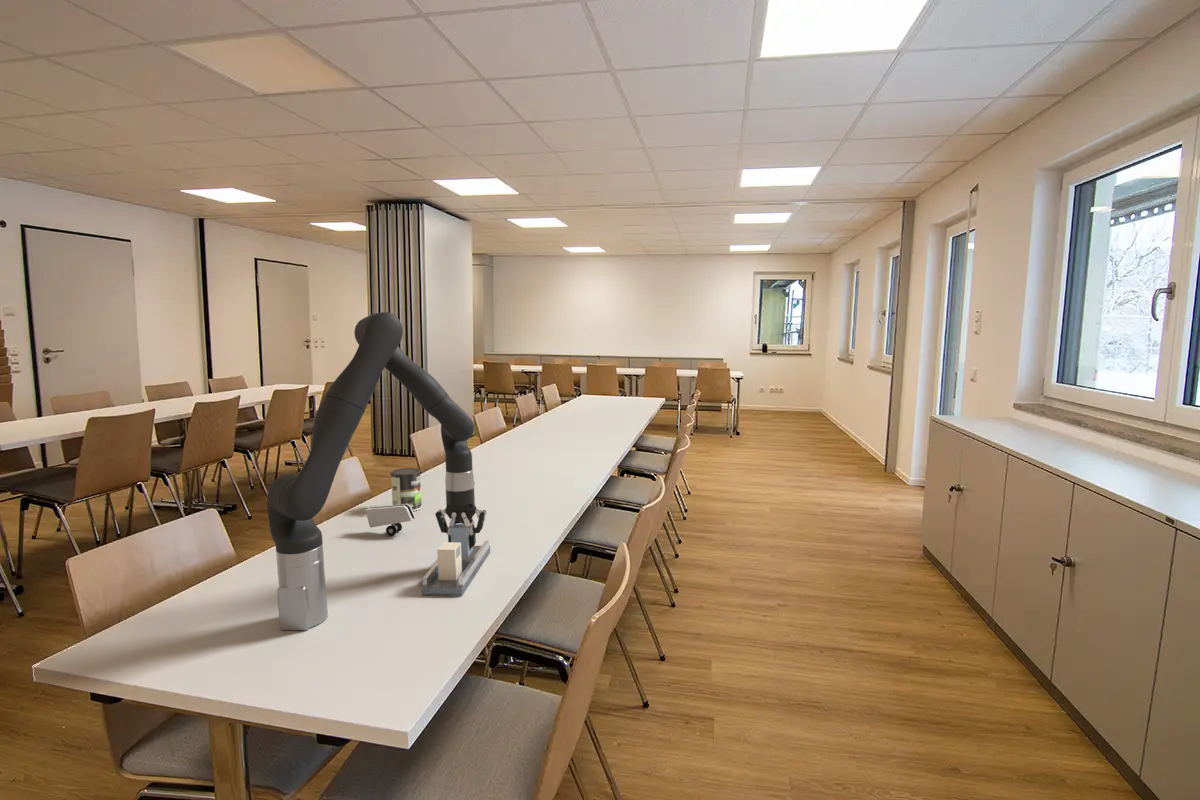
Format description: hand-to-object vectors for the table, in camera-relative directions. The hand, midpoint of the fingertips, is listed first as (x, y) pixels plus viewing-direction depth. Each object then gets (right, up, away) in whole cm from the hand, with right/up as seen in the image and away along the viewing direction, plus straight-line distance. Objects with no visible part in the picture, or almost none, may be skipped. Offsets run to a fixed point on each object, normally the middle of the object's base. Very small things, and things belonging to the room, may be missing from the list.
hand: (462, 546), depth 159 cm
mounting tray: (0, -6, -3) cm, 7 cm away
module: (0, -2, 0) cm, 2 cm away
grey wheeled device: (-36, +1, +28) cm, 45 cm away
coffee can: (-33, 0, +53) cm, 63 cm away
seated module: (-1, -5, -10) cm, 11 cm away
